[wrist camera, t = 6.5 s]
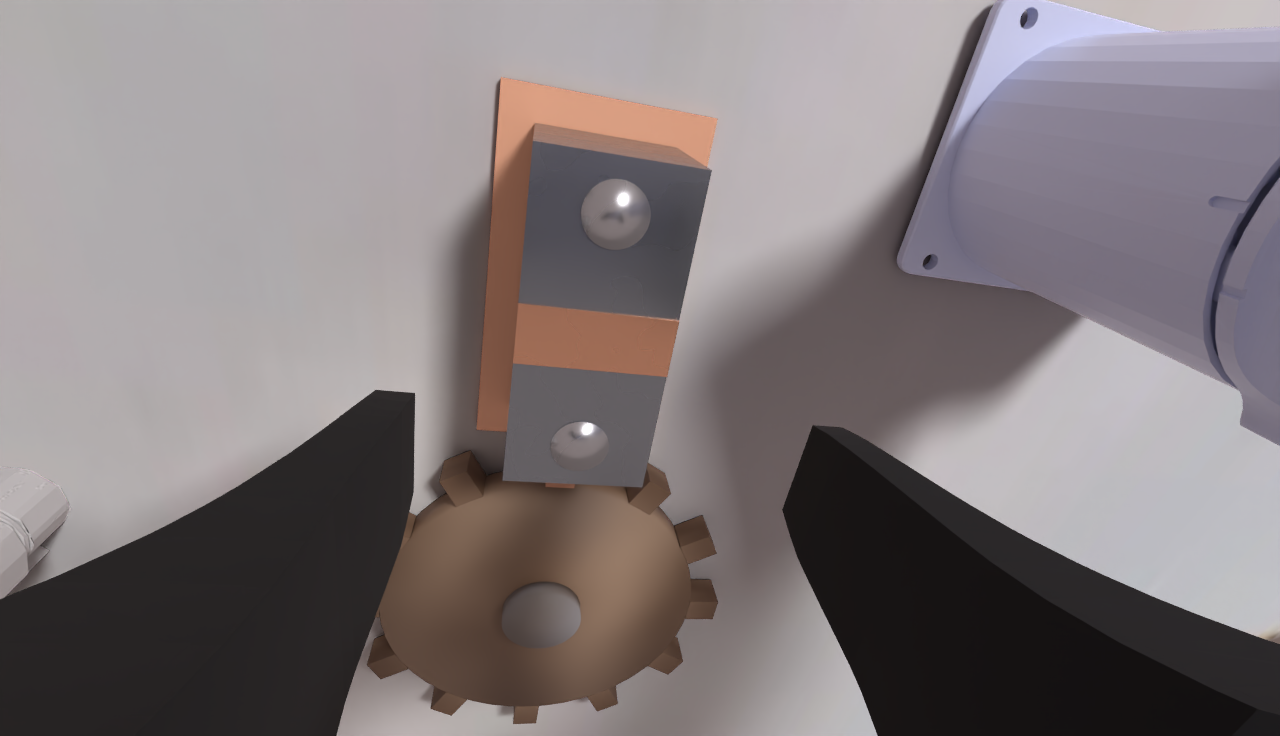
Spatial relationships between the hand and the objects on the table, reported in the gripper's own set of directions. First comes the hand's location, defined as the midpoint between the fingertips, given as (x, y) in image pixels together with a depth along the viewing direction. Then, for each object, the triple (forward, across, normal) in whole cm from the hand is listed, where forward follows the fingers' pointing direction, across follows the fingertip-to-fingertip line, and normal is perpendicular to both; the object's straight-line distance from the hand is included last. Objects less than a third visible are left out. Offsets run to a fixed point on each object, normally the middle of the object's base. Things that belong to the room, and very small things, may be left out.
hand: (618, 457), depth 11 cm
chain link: (+9, 0, 0) cm, 9 cm away
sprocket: (+9, 0, +13) cm, 16 cm away
